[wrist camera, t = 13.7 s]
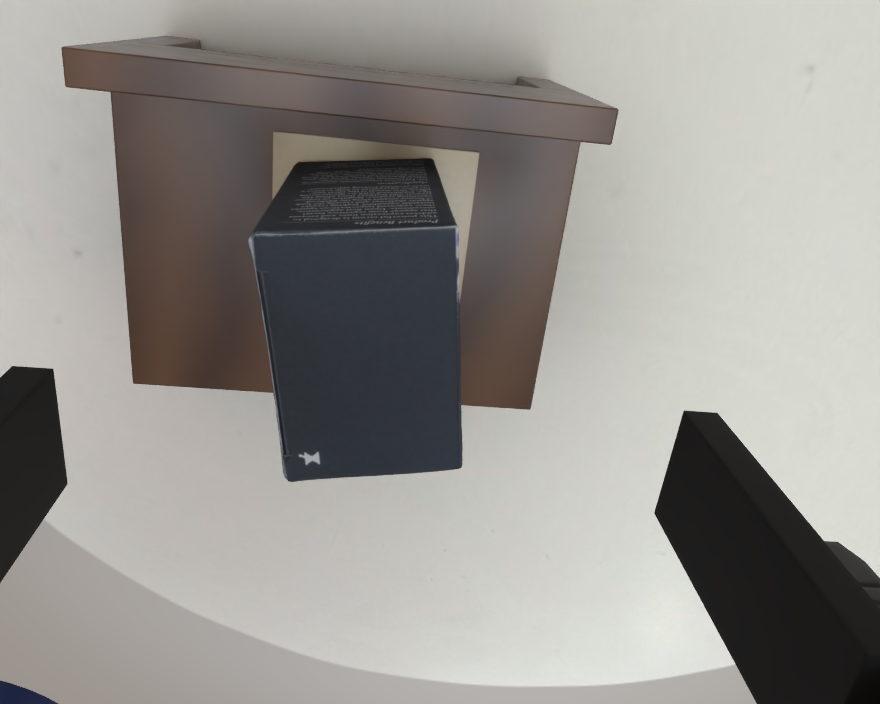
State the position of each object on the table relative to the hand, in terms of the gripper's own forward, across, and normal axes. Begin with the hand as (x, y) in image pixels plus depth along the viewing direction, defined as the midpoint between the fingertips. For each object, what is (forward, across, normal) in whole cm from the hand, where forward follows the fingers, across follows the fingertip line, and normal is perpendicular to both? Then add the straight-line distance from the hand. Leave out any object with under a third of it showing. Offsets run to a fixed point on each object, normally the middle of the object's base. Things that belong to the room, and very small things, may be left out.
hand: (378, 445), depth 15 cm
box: (+16, 0, -1) cm, 16 cm away
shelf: (+24, -1, -1) cm, 24 cm away
